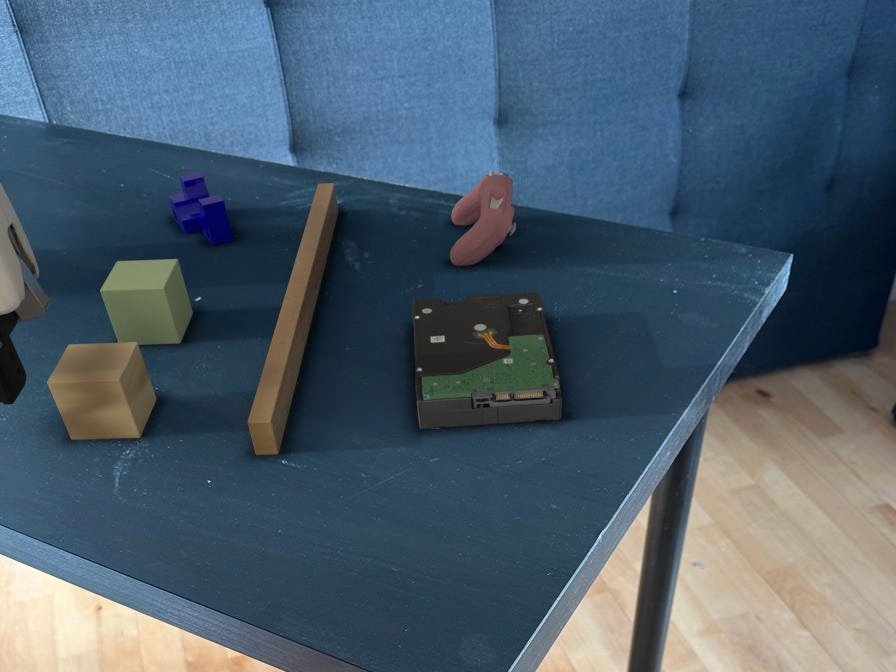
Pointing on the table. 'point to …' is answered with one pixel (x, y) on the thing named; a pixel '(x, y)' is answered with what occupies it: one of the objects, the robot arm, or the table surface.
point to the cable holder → (200, 210)
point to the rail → (293, 326)
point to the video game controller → (483, 219)
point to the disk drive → (484, 362)
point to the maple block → (103, 390)
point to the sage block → (147, 301)
